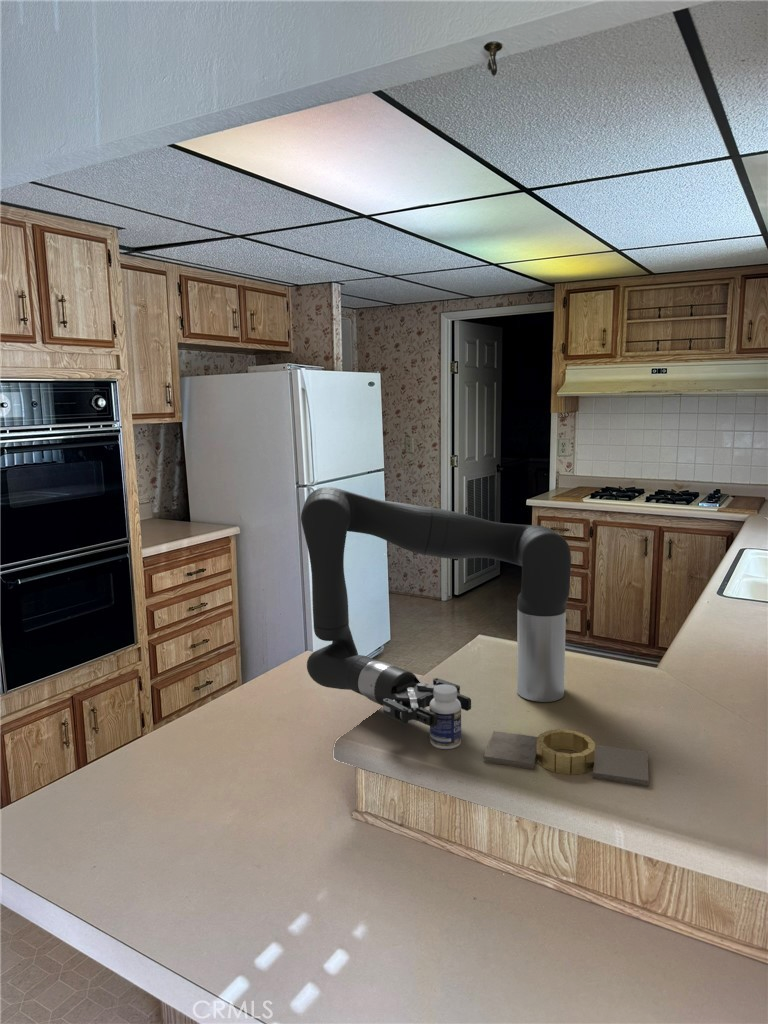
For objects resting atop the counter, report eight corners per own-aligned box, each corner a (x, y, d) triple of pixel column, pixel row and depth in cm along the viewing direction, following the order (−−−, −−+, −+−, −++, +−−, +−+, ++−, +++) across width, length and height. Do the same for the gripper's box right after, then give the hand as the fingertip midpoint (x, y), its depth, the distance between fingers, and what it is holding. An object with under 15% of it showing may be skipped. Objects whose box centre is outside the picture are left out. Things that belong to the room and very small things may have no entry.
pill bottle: (459, 751, 116) (459, 696, 115) (427, 748, 117) (427, 694, 116) (462, 736, 121) (462, 683, 120) (432, 733, 122) (431, 681, 121)
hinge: (493, 736, 121) (493, 720, 121) (647, 757, 113) (647, 740, 112) (483, 761, 113) (483, 744, 112) (648, 786, 104) (649, 768, 104)
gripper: (358, 677, 123) (423, 704, 112) (414, 656, 133) (480, 679, 121) (359, 716, 125) (424, 748, 113) (415, 693, 134) (480, 720, 122)
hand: (453, 712), depth 117 cm, fingers open, 8 cm apart
